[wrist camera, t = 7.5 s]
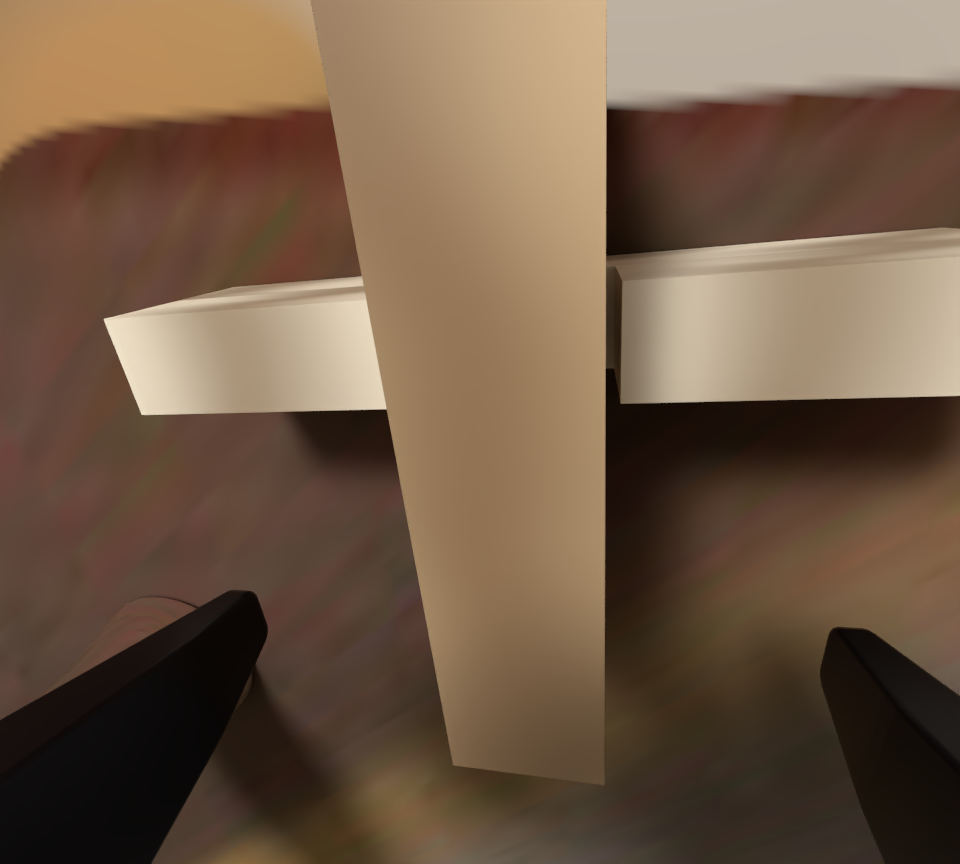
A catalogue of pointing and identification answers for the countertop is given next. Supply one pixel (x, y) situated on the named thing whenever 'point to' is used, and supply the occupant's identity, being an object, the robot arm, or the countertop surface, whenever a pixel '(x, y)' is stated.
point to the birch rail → (629, 330)
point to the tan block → (490, 345)
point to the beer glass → (130, 634)
